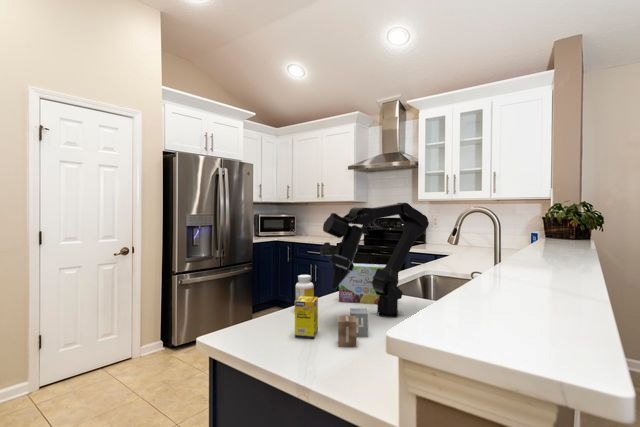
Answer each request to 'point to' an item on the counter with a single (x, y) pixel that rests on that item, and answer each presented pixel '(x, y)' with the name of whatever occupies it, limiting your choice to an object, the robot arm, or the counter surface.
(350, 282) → the snack box
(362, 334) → the slate block
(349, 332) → the walnut block
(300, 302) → the supplement box
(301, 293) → the supplement bottle
